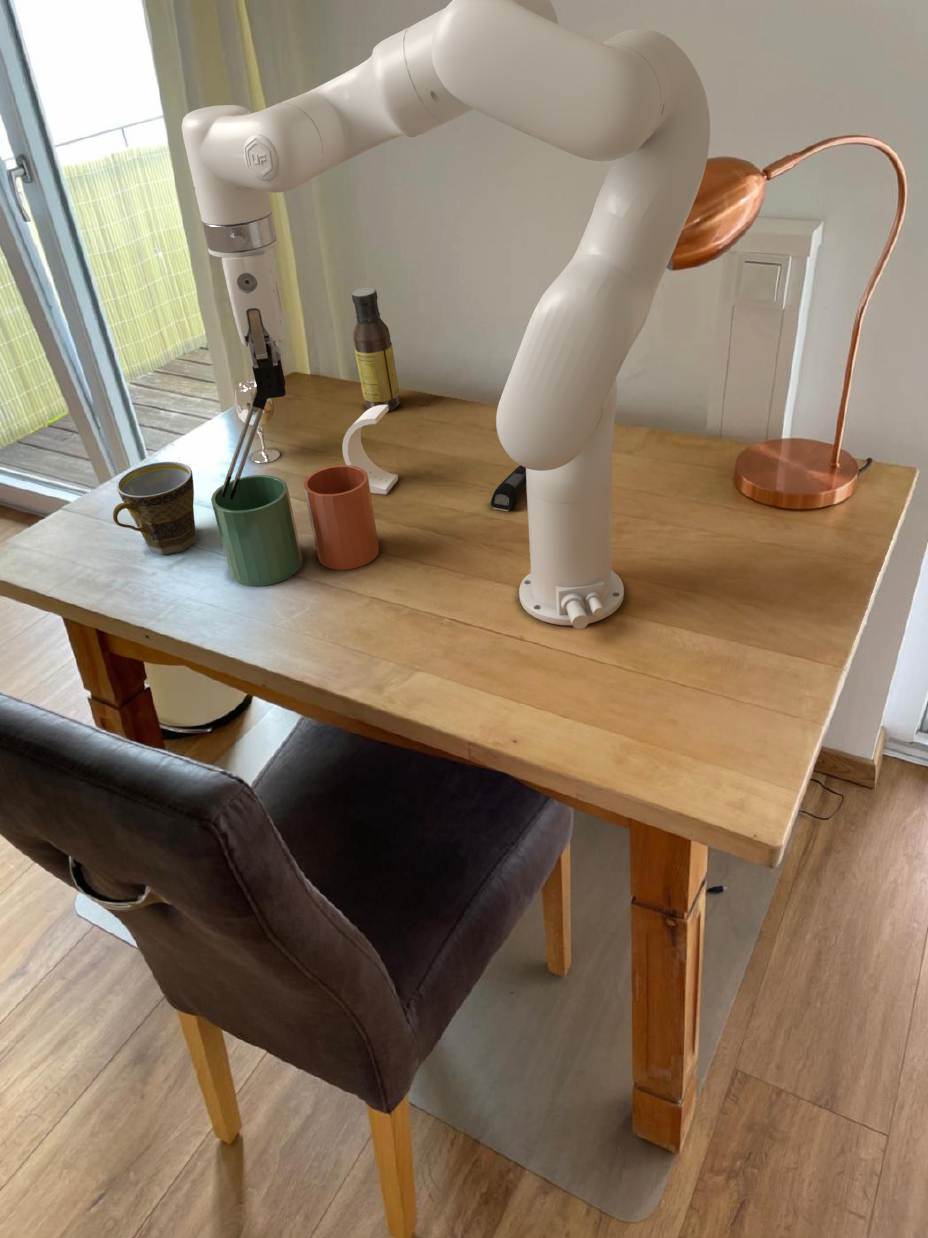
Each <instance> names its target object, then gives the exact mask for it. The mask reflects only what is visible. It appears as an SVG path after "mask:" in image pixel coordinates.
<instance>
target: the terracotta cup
mask: <svg viewBox="0 0 928 1238" xmlns="http://www.w3.org/2000/svg"><path fill="white" fill-rule="evenodd" d="M303 490H304V495H305V500H306V505H307V509H308V510H307V511H308V515H309V520H310V526H311V530H312V535H313V540H314V546H315V550H316V555H317V558H318V561H319V563H320V564H321V565H322V566H323V567H326V568H328V569H331V570H337V571H339V570H341V571H344V570H346V571H347V570H352V569H353V570H354V569H358V568H361V567H363V566H365V565H367V564H370V563H371V562H372V561H374V560H375V559H376V557H377V556H378V555H379V552H380V546H379V540H378V539H379V538H378V532H377V526H376V519H375V513H374V507H373V500H372V493H370V487H369V480H368V474H367V473H366V472H365V471H364V470H363V469H361V468H359V467H357V466H351V465H346V464H338V465H331V466H326V467H323V468H320V469H317V470H316V471H314V472H312V473H310V474H309V475H308V476H307V477H305V479H304V481H303Z"/></svg>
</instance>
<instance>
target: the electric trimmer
mask: <svg viewBox="0 0 928 1238" xmlns="http://www.w3.org/2000/svg"><path fill="white" fill-rule="evenodd" d="M526 484H527V481H526V468H525V467H523V466H521V465H519V466H517V467H516V468H515V469H514V470H513V471H512V472H511V473H510V474H509V475H508V476H507V477H506V478H505V479H504V480H503V481H502V482H501V483H500V484H499V485H498V486H497V487H496V489H495V490H494V492H493V494H492V497H491V499H490V505H491V507H492V509H493V510H498V511H504V512H509V511H510V510H514V509H515V508H516V506H517V502H518V498H519V497H520V495H521V494H522V493H523V492H524V490H525V489H527V486H526Z"/></svg>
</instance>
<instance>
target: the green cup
mask: <svg viewBox="0 0 928 1238" xmlns="http://www.w3.org/2000/svg"><path fill="white" fill-rule="evenodd" d="M233 482H234V479H232V480H230V483H229V486H228V489H227V492H226V495H225V497H222V488H223V485H224V484H222V485H220V486H219V487H218V488H217V489H216V490H215V491H214V492H213V493H212V495H211V499H210V501H211V506H212V509H213V513H214V517H215V521H216V525H217V528H218V532H219V537H220V540H221V543H222V547H223V551H224V555H225V558H226V563H227V566H228V570H229V574H230V576H231V578H232V579H233V580H234V581H235V582H236V583H238V584H241V585H244V586H249V587H263V586H269V585H274V584H277V583H281V582H283V581H285V580H287V579H290V578H291V577H292V576H294V575H295V574H296V573H297V572H298V571H299V570H300V569H301V567H302V564H303V553H302V550H301V543H300V540H299V536H298V531H297V525H296V520H295V516H294V512H293V511H294V510H293V507H292V502H291V496H290V492H289V486H288V485H287V482H285V480H283V479H282V478H279V477H277V476H275V475H269V474H253V475H248V476H242V477H240V480H239V483H238V486H237V489H236V492H235V495H234V498H233V500H232V499H230V491H231V488H232V485H233Z"/></svg>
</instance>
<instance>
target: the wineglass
mask: <svg viewBox="0 0 928 1238" xmlns="http://www.w3.org/2000/svg"><path fill="white" fill-rule="evenodd" d="M255 390H256V382H255V378H254V379H248V380H244V381H241V382H239V383H238V384H236V385H235V387H234V403H235V411H236V413H237V416H238V418H239V420H240V421H242V422H243V424H244V423H245V420H246V417H247V414H248V411H249V409H250V406H251V403H252V399H253V396H254V393H255ZM258 410H259V408H257V407H255V408H254V411H253V414H252V417H251V420H250V423H249V426H252V427H253V424H254V421H255V418H256V416H257V413H258ZM274 412H275V403H274V398H269V399H267V402H266V405H265V408H264V410H263V413H262V416H261V419H260V422H259V424H258V427H257V430H256V433H257V434H258V436H259V439H260V442H261V448H262V449H261V450H259V451H257V452H255V453H254V454H252V457H251V460H252V461H253V462H254V463H257V464H267V463H271V462H274V461H275V460H277V459H279V457H280V455H281V454H280V451H278V450H276V449H267V447H266V444H265V440H264V439H265V438H264V427H263V425H265V424H267V423H268V422H270V420H271V419H272V418H273V416H274V414H275V413H274Z"/></svg>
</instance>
